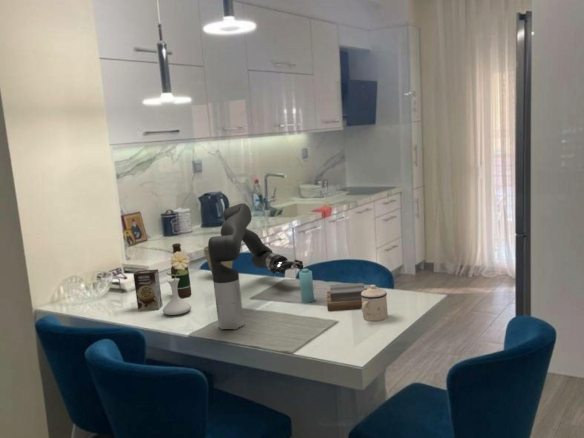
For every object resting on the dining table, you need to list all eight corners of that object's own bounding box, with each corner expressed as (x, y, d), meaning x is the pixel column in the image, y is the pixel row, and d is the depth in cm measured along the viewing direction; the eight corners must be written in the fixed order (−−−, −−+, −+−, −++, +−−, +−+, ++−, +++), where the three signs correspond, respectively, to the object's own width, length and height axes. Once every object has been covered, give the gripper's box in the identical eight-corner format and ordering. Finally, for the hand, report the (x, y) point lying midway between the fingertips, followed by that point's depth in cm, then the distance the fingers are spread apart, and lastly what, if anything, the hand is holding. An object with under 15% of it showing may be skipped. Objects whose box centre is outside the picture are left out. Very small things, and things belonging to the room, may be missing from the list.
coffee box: (137, 311, 231) (132, 274, 229) (142, 307, 237) (137, 270, 235) (159, 309, 231) (154, 272, 228) (163, 305, 237) (158, 268, 235)
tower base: (370, 308, 206) (369, 292, 205) (327, 311, 207) (326, 295, 207) (367, 295, 222) (366, 281, 221) (327, 298, 223) (326, 284, 222)
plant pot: (218, 283, 265) (214, 250, 263) (201, 279, 276) (197, 248, 274) (243, 276, 275) (239, 244, 272) (226, 272, 286) (222, 242, 284)
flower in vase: (163, 319, 217) (155, 257, 213) (162, 311, 228) (154, 252, 224) (197, 313, 220) (189, 252, 217) (194, 306, 231) (187, 247, 227)
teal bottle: (314, 302, 220) (311, 270, 218) (301, 303, 220) (298, 271, 219) (314, 298, 225) (311, 267, 223) (301, 299, 226) (298, 268, 224)
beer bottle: (170, 298, 246) (163, 245, 243) (181, 293, 253) (175, 242, 250) (184, 299, 243) (177, 245, 239) (195, 294, 250) (188, 242, 246)
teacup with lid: (371, 311, 202) (368, 280, 200) (393, 315, 196) (391, 283, 194) (352, 322, 193) (350, 289, 191) (375, 325, 187) (372, 292, 185)
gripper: (261, 257, 242) (276, 264, 228) (290, 251, 248) (307, 257, 234) (263, 274, 244) (278, 281, 229) (292, 267, 250) (308, 274, 235)
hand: (293, 269), depth 232 cm, fingers open, 8 cm apart
